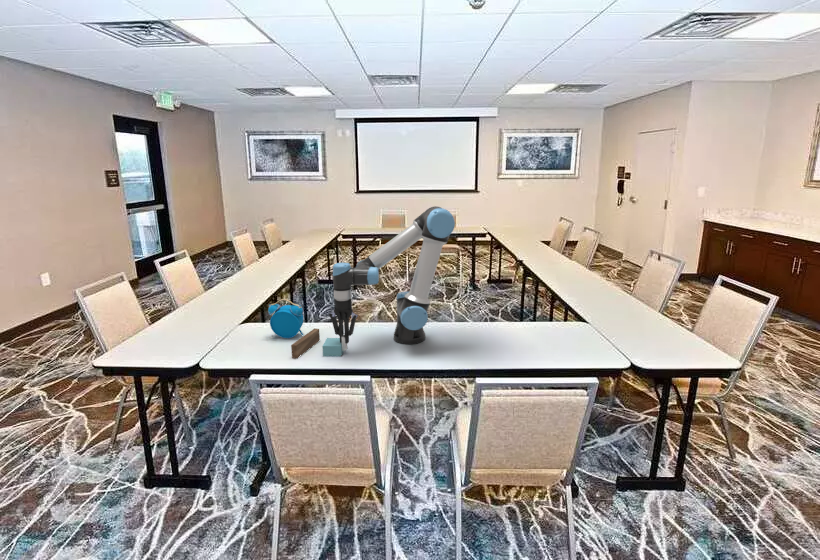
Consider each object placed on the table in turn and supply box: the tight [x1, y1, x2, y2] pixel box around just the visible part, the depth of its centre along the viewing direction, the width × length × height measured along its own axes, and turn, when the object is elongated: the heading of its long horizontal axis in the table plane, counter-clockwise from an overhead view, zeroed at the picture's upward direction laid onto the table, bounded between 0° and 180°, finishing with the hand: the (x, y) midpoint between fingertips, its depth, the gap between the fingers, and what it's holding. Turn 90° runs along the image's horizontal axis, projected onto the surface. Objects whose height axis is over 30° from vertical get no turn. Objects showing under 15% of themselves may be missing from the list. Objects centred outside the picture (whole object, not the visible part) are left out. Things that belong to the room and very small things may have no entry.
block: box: [321, 337, 344, 357], centre depth 211 cm, size 8×10×5 cm
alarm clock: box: [267, 298, 304, 339], centre depth 228 cm, size 17×10×20 cm, turn 84°
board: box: [290, 328, 321, 359], centre depth 214 cm, size 2×22×6 cm, turn 165°
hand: (344, 349), depth 210 cm, fingers closed
